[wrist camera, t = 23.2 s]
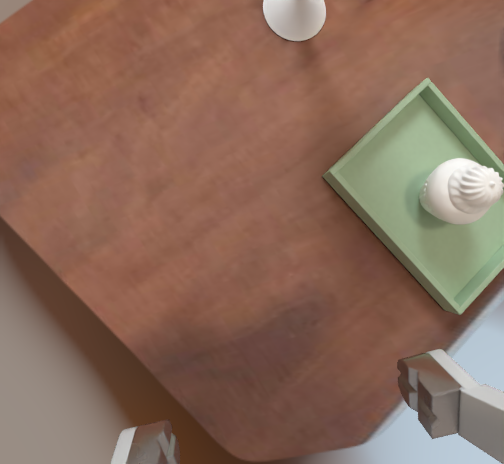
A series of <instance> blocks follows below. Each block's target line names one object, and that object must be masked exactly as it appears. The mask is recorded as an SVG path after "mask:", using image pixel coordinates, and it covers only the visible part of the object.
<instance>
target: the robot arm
mask: <svg viewBox="0 0 504 464" xmlns="http://www.w3.org/2000/svg"><path fill="white" fill-rule="evenodd" d="M397 368H398V370H399V371H400V372H401V374H400V376H399V377H398V386H399V389H400V392H401V394H402V396H403V398H404V400H405V402H406V403H407V404H408V406H409V407H410V408H412V409H413V410H415V411H417V412H418V420H419V421H420V423H421V424H422V425H423V427H424V428H425V430H426V431H427V432H428V434H429V435H430V436H431V438H432V439H434V438H438V437H443V436H446V435H451V434H455V433H458V434H459V435H460V436H461V437H463V438H464V439H466V440H468V441H469V442H471V443H472V444H473V445H475V446H477V447H478V448H480V449H481V450H483V451H484V452H486V453H487V454H489V455H490V456H492V457H493V458H495V459H496V460H498V461H499V462H501V463H502V464H504V392H503V391H501V390H498V389H496V388H493V387H491V386H489V385H486V384H483V385H480V384H479V383H478V382H477V381H476V380H475V379H474V378H472V377H471V376H470V375H469V374H468V373H467V372H466V371H465V370H464V369H463V368H462V367H461V366H460V365H458V364H457V363H456V362H455V361H454V360H453V359H452V358H451V357H450V356H449V355H448V354H447V353H446V352H444V351H443V350H441V349H437V350H434V351H430V352H426V353H421V354H418V355H414V356H410V357H407V358H403V359H399V360H398V362H397ZM171 432H172V425H171V423H170V421H169V420H163V421H159V422H154V423H150V424H145V425H141V426H137V427H134V428H129V429H125V430H123V431H122V432H121V434H120V435H119V438H118V442H117V444H116V447H115V451H114V454H113V457H112V460H111V463H110V464H179V463H180V449H179V444H178V440H177V437H176V436H175V435H173V434H172V433H171Z"/></svg>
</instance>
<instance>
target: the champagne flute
mask: <svg viewBox="0 0 504 464" xmlns="http://www.w3.org/2000/svg"><path fill="white" fill-rule="evenodd" d="M263 13H264V16H265V19H266V21H267V23H268V25H269V26H270V28H271V29H272V30H273V31H274V32H275V33H276V34H278V35H279V36H281V37H282V38H285V39H287V40H292V41H303V40H307V39H309V38H312V37H313V36H315V35H316V34H317V33H318V32H319V31H320V30H321V28H322V26H323V25H324V22H325V18H326V7H325V3H324V0H264V2H263Z"/></svg>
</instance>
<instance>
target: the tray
mask: <svg viewBox="0 0 504 464" xmlns="http://www.w3.org/2000/svg"><path fill="white" fill-rule="evenodd" d="M456 158H464V159H469V160H472V161H474V162H476V163H478V164H480V165H481V166H486V167H487V168H493V169H494V172H499V177H501V178H503V180H502V183H503V184H504V164H503V163H502V162H501V161H500V160H499V159H498V157H497V156H496V155H495V154H494V153H493V152H492V151H491V149H490V148H489V147H488V146H487V145H486V144H485V143H484V141H483V140H482V139H481V138H480V137H479V136H478V134H477V133H476V132H475V131H474V130H473V129H472V128H471V126H470V125H469V124H468V123H467V122H466V121H465V120H464V118H463V117H462V116H461V115H460V114H459V113H458V112H457V110H456V109H455V108H454V107H453V106H452V105H451V104H450V102H449V101H448V100H447V99H446V98H445V97H444V96H443V94H442V93H441V92H440V91H439V90H438V89H437V88H436V86H435V85H434V84H433V83H432V82H431V81H430V80H429V78H426V79H425V80H424V81H423V82H421V83H420V84H419V85H418V86H416V87H415V88H414V89H413V90H412V91H411V92H410V93H409V94H408V95H406V96H405V97H404V98H403V99H402V100H401V101H400V102H399V103H398V104H397V105H396V106H395V107H394V108H393V109H392V110H391V111H390V112H389V113H388V114H387V115H385V116H384V117H383V118H382V119H381V120H380V121H379V122H378V123H377V124H376V125H375V126H374V127H373V128H372V129H371V130H370V131H369V132H368V133H367V134H366V135H364V136H363V137H362V138H361V139H360V140H359V141H358V142H357V143H356V144H355V145H354V146H353V147H352V148H351V149H350V150H349V151H348V152H347V153H346V154H345V155H343V156H342V157H341V158H340V159H339V160H338V161H337V162H336V163H335V164H334V165H333V166H332V167H331V168H330V169H329V170H328V171H327V172H326V173H325V174H324V175H322V177H323V178H324V179H325V180H326V181H327V182H328V183H329V184H330V185H331V186H332V188H333V189H334V190H335V191H336V192H337V193H338V194H339V195H340V196H341V197H342V199H343V200H344V201H345V202H346V203H347V204H348V205H349V206H350V207H351V208H352V209H353V211H354V212H355V213H356V214H357V215H358V216H359V217H360V218H361V219H362V220H363V222H364V223H365V224H366V225H367V226H368V227H369V228H370V229H371V230H372V231H373V232H374V234H375V235H376V236H377V237H378V238H379V239H380V240H381V241H382V242H383V243H384V244H385V246H386V247H387V248H388V249H389V250H390V251H391V252H392V253H393V254H394V255H395V257H396V258H397V259H398V260H399V261H400V262H401V263H402V264H403V265H404V266H405V267H406V269H407V270H408V271H409V272H410V273H411V274H412V275H413V276H414V277H415V278H416V280H417V281H418V282H419V283H420V284H421V285H422V286H423V287H424V288H425V289H426V290H427V292H428V293H429V294H430V295H431V296H432V297H433V298H434V299H435V300H436V301H437V303H438V304H439V305H440V306H441V307H442V308H443V309H444V310H445V311H449V312H452V313H455V314H459V315H461V314H462V313H463V312H464V311H465V309H466V308H467V307H468V306H469V305H470V304H471V303H472V302H473V301H474V300H475V298H476V297H477V296H478V295H479V294H480V293H481V292H482V291H483V290H484V289H485V288H486V286H487V285H488V284H489V283H490V282H491V281H492V280H493V279H494V278H495V277H496V275H497V274H498V273H499V272H500V271H501V270H502V269H503V268H504V187H503V194H502V195H501V197H500V199H499V200H498V201H497V202H496V203H494V204H493V205H492V206H490V208H489V210H488V211H487V212H486V213H485V214H484V215H483V216H482V217H481V218H480V219H478V220H477V221H475V222H472V223H469V224H464V225H456V224H451V223H448V222H446V221H443V220H441V219H438V218H437V217H435V216H433V215H432V214H431V213H429V212H428V211H426V210H425V209H424V208H423V207H422V205H421V203H420V199H419V194H420V193H419V192H420V189H421V187H422V186H423V184H424V182H425V181H426V179H427V178H428V176H429V175H430V174H431V173H432V172H433V171H434V170H435V169H436V168H437V167H438V166H439V165H440V164H442V163H444V162H446V161H448V160H451V159H456Z"/></svg>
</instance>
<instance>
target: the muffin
mask: <svg viewBox="0 0 504 464" xmlns="http://www.w3.org/2000/svg"><path fill="white" fill-rule="evenodd" d="M502 180H503V178H501V177H499V172H494V169H493V168H487V167H486V166H481V165H480V164H478V163H476V162H474V161H472V160H469V159H464V158H456V159H451V160H448V161H446V162H444V163H442V164H440V165H439V166H438V167H437V168H436V169H435V170H434V171H433V172H432V173H431V174H430V175H429V176H428V178H427V179H426V181H425V182H424V184H423V186H422V187H421V189H420V192H419V193H420V194H419V199H420V203H421V205H422V207H423V208H424V209H425V210H426V211H428V212H429V213H431V214H432V215H433V216H435V217H437V218H438V219H441V220H443V221H446V222H448V223H451V224H456V225H464V224H469V223H472V222H475V221H477V220H478V219H480V218H481V217H482V216H483V215H484V214H485V213H486V212H487V211H488V210H489V208H490V206H492V205H493V204H494V203H496V202H497V201H498V200H499V199H500V197H501V195H502V194H503V187H504V184H503V183H502Z"/></svg>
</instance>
